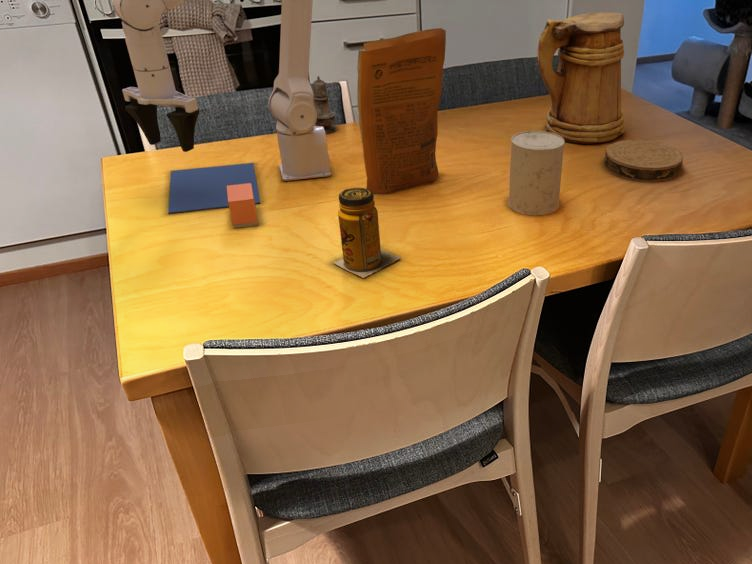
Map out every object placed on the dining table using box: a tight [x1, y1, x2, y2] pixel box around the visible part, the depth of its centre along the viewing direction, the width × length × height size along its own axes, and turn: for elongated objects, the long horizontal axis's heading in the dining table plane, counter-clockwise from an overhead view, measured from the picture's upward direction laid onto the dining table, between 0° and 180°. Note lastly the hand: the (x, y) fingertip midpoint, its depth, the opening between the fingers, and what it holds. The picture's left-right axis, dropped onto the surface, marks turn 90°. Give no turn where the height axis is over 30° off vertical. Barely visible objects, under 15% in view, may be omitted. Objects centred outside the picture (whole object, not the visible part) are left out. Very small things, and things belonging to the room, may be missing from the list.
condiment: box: [332, 187, 402, 279], centre depth 109 cm, size 7×8×12 cm
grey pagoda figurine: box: [312, 75, 337, 134], centre depth 158 cm, size 6×6×12 cm
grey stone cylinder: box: [507, 130, 566, 216], centre depth 127 cm, size 10×10×12 cm
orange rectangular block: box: [227, 183, 259, 229], centre depth 123 cm, size 4×7×5 cm, turn 18°
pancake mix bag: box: [356, 27, 447, 195], centre depth 129 cm, size 7×19×28 cm, turn 125°
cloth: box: [167, 162, 261, 215], centre depth 134 cm, size 16×20×1 cm
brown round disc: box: [603, 139, 684, 183], centre depth 146 cm, size 16×16×3 cm
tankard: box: [537, 11, 626, 145], centre depth 155 cm, size 18×24×25 cm
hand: (171, 146), depth 125 cm, fingers open, 7 cm apart
